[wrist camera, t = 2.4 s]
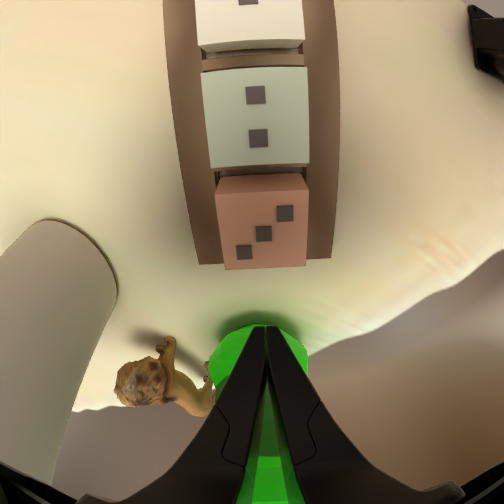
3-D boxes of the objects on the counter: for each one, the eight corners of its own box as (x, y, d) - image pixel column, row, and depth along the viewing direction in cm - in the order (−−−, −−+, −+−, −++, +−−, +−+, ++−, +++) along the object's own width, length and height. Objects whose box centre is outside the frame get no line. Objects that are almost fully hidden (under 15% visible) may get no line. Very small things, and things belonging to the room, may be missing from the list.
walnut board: (322, -28, 9) (327, -36, 8) (326, 247, 21) (331, 257, 20) (168, -19, 10) (162, -26, 9) (202, 253, 22) (199, 264, 21)
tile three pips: (300, 172, 16) (309, 191, 14) (299, 240, 19) (306, 267, 17) (220, 177, 17) (213, 196, 14) (229, 243, 19) (225, 271, 17)
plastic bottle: (212, 299, 25) (181, 590, 4) (321, 312, 26) (358, 575, 5) (206, 358, 30) (187, 562, 10) (293, 366, 31) (304, 561, 11)
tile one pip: (289, -20, 9) (296, -41, 7) (296, 47, 12) (305, 38, 9) (203, -15, 9) (192, -34, 7) (208, 53, 12) (197, 45, 10)
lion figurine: (125, 336, 29) (102, 400, 21) (143, 317, 27) (119, 390, 19) (219, 385, 34) (214, 444, 27) (245, 373, 32) (243, 437, 25)
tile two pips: (297, 71, 13) (307, 66, 10) (300, 150, 16) (309, 164, 13) (210, 76, 13) (199, 73, 10) (218, 154, 16) (210, 169, 13)
